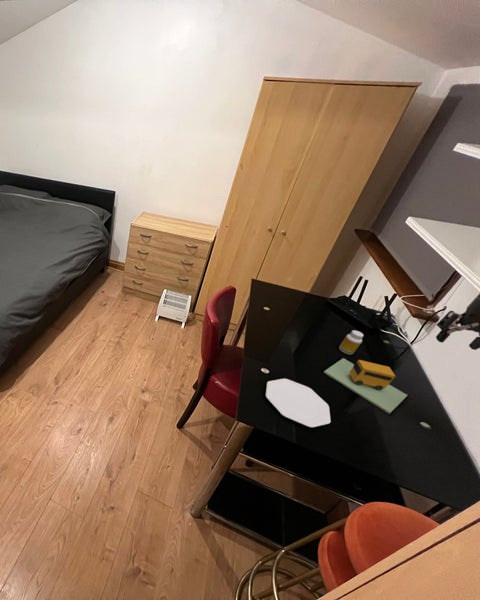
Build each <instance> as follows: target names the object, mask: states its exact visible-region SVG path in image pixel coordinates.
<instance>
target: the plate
mask: <svg viewBox="0 0 480 600" xmlns="http://www.w3.org/2000/svg"><path fill="white" fill-rule="evenodd" d="M265 399H266V400H268V402H269V403H271V405H272V406H273V407H274V408H275V409H276V410H277V411H278V413H279V414H280V415H281V416H282V417H284V418H287V419H288V420H290V421H293V422H296V423H298V424H301V425H302V426H305V427H308V428H311V429H312V428H316V427H321V426H326V425H329V424H330V423H331V422H332V421H331V413H330V412H331V411H330V406H329V404H328V403H327V402H326V401H325V400H324V399H323V398H321V397H320V396H319V395H318V394H317V393H316V392H315V391H314V390H313V389H312V388H311V387H309V386H307V385H304V384H302V383H300V382H299V383H298V382H296V381H293V380H291V379H288V378H279V379H275V380H273V379H272V380H269V381H267V382H266V388H265Z"/></svg>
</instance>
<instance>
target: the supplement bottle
mask: <svg viewBox="0 0 480 600" xmlns="http://www.w3.org/2000/svg"><path fill="white" fill-rule="evenodd" d="M363 337H364V334H363V332H361V331H358V330H354V329H353V330H351V332H350V333H347V334H346V335H345V337H344V339H343V341H342V342H341V344H340V345H339V346H338V349H339V350H340V351H341V352H342V353H344V354H347V355H354V354H355V353H356V351H357V349H358V348H359V346H360V345H361V344H362V342H363Z"/></svg>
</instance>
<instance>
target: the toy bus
mask: <svg viewBox="0 0 480 600" xmlns="http://www.w3.org/2000/svg"><path fill="white" fill-rule="evenodd" d="M353 364H354V366H353V368H352V369H351V371H350V372H349V373H350V375H351V377H352V379H353V381H355V384H356V385H362V384H367V385H371V386H374V388H375V389H376V390H382V389H385V388H386V387H387V386H388V384H389V385H390V383H391V382H392V381H393V380H394V379H395V378H396V375H395V373H394V371H393V370H392V369H391V367H390V366H387V365H384V364H383V365H382V364H378V363H374V362H371V361H366V360H362V359H358V360H357V361H356V362H355V363H353Z"/></svg>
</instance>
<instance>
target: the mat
mask: <svg viewBox="0 0 480 600" xmlns="http://www.w3.org/2000/svg"><path fill="white" fill-rule="evenodd" d="M354 364H355V363H353V362H351V361H349V360H347V359H346V358H344V357H343V358H341V359H340V360H338V361H336V363H334V364H333V365H331V366H329V367H328V368H327V369H325V370H324V371H323V374H325V375H326V376H328V377H329V378H331V379H333V380H334V381H336V382H337V383H339V384H341V385H342V386H344V387H345V388H347V389H348V390H351V392H353V393H354V394H357V395H358V396H360V397H361V398H363V399H364V400H366V401H368V402H369V403H371V404H372V405H374V406H376V407H377V408H379V409H381V411H384V412H385V413H387V414H388V415H390V414H391V413H392V412H393V411H394V410H395V409H396V408H397V407H398V406H399V405H400V404H401V403H402V402H403V401H404V400H405V399H406V398H407V397H408V394H407V393H404V392H403V391H401V390H400V389H397V388H396V387H394V386H393V385H391V384H390V383H389V384H388V386H387V387H386V388H385V389H382V390H376V389H375V388H374V386H371V385H367V384H362V385H356V384H355V381H353V379H352V377H351V375H350V373H349V372H350V371H351V369H352V368H353V366H354Z"/></svg>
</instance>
